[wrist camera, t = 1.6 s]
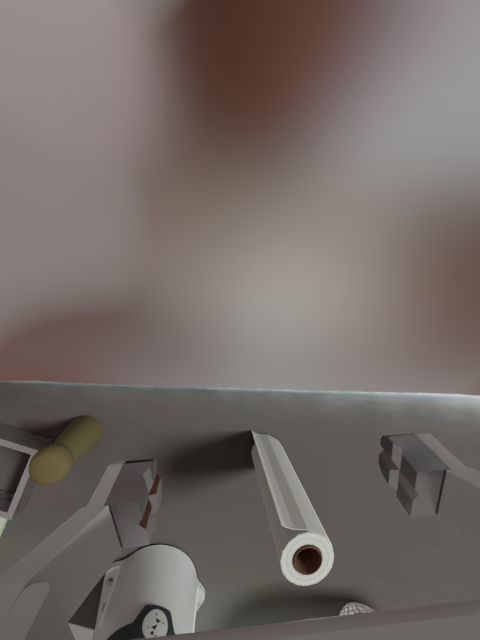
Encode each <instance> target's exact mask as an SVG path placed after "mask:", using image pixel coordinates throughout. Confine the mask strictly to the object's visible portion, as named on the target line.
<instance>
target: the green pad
mask: <svg viewBox="0 0 480 640" xmlns="http://www.w3.org/2000/svg"><path fill="white" fill-rule="evenodd" d="M7 520H8V519H5V518H2V517H0V537H1V534H2V532H3V530H4V527H5V525H6V522H7Z"/></svg>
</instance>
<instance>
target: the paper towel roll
mask: <svg viewBox="0 0 480 640" xmlns="http://www.w3.org/2000/svg"><path fill="white" fill-rule="evenodd" d="M252 434H253V438H254V441H255V444H254V445H253V448H252V452H251V454H252V459H253V463H254V467H255V470H256V474H257V478H258V482H259V486H260V489H261V493H262V497H263V501H264V505H265V509H266V512H267V516H268V520H269V524H270V528H271V531H272V535H273V539H274V543H275V547H276V551H277V554H278V558H279V562H280V566H281V570H282V572H283V574H284V575H285V576H286V578H287V579H288V580H289V581H291V582H292V583H294V584H296V585H302V586H309V585H312V584H315V583H318V582H319V581H320V580H322V579H323V578H324V577H326V575H327V574H328V572H329V571H330V569H331V568H332V564H333V560H334V553H333V547H332V544H331V542H330V540H329V538H328V536H327V534H326V532H325V530H324V529H323V527H322V525H321V523H320V521H319V519H318V517H317V515H316V513H315V511H314V509H313V507H312V505H311V503H310V501H309V499H308V497H307V495H306V493H305V491H304V489H303V487H302V485H301V483H300V481H299V479H298V477H297V475H296V473H295V471H294V469H293V467H292V465H291V463H290V461H289V459H288V457H287V455H286V453H285V451H284V449H283V447H282V445H281V444H280V442H279V441H278V440H277V439H275V438H273V437H271V436H269V435H267V434H258V433H255V432H253V431H252Z"/></svg>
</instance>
